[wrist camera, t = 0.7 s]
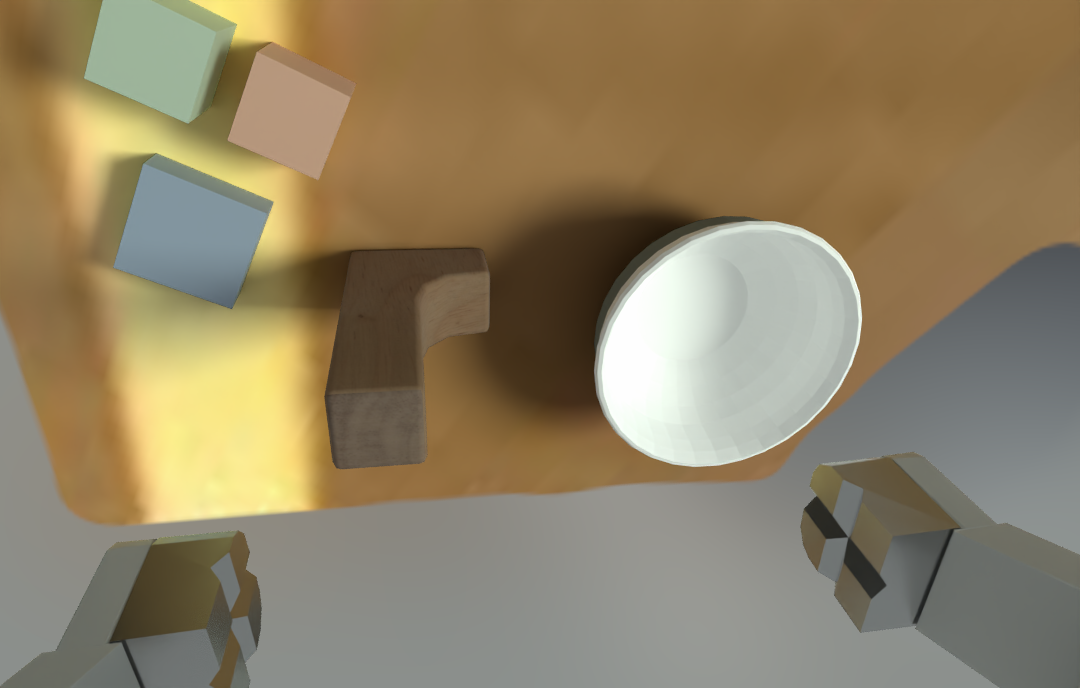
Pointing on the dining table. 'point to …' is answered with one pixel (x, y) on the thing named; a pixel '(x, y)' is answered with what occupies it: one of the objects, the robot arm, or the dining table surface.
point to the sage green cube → (160, 54)
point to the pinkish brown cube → (290, 110)
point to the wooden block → (396, 347)
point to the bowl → (724, 339)
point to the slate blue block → (191, 231)
